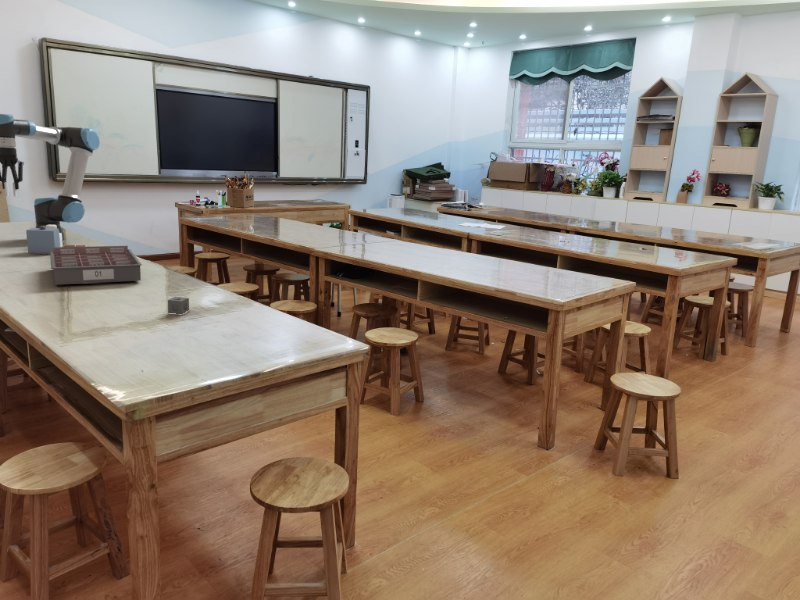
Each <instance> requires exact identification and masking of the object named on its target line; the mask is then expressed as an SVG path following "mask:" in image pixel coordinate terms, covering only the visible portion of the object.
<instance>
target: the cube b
mask: <svg viewBox="0 0 800 600" xmlns="http://www.w3.org/2000/svg"><path fill="white" fill-rule="evenodd" d="M75 247H86V244H76V245H75Z"/></svg>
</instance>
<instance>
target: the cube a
mask: <svg viewBox="0 0 800 600" xmlns="http://www.w3.org/2000/svg"><path fill="white" fill-rule="evenodd" d="M75 246H76V245H75V244H65V245H63V247H75Z"/></svg>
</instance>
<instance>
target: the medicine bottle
mask: <svg viewBox="0 0 800 600" xmlns="http://www.w3.org/2000/svg"><path fill="white" fill-rule="evenodd" d="M45 228H49V229H59V226H58V225H56V224H48V225H46V226H45ZM59 238H60V247H64V245H63V243H64V242H63V239H62V233H59Z"/></svg>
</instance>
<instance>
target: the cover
mask: <svg viewBox="0 0 800 600" xmlns="http://www.w3.org/2000/svg"><path fill="white" fill-rule="evenodd" d="M25 233H26V242H27V243H26V244H27V253H28V254H29V253H50V252H51V251H53V247H60V238H59V229H49V228H45V226H40V228H36V227H32V228H28V229H26V230H25Z"/></svg>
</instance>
